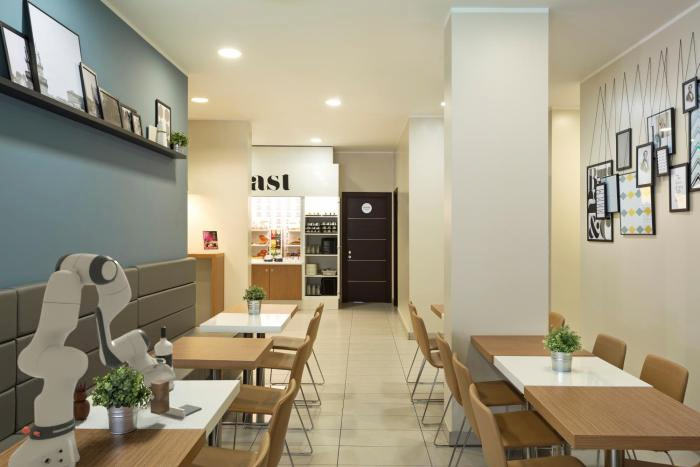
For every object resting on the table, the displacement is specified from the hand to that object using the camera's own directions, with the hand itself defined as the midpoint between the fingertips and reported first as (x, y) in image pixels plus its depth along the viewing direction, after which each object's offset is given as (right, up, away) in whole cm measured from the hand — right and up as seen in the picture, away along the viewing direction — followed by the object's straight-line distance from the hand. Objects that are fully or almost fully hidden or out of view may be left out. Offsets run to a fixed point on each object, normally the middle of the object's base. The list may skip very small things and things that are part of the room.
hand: (160, 396), depth 201 cm
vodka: (-14, -10, +42) cm, 45 cm away
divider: (+3, -10, +8) cm, 13 cm away
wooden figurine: (-35, -11, +5) cm, 37 cm away
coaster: (+6, -10, +12) cm, 17 cm away
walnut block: (0, -6, 0) cm, 6 cm away
